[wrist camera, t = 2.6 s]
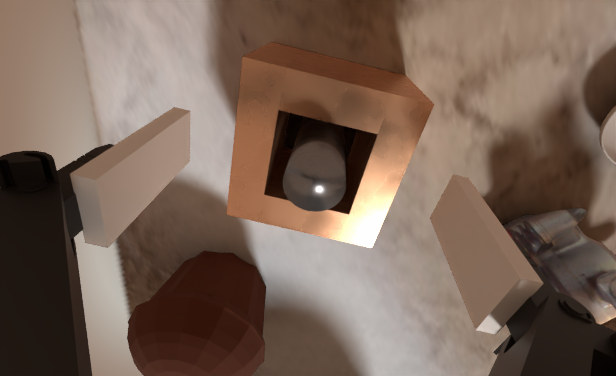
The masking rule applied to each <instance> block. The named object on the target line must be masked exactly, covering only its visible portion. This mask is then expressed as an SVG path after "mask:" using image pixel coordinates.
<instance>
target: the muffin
mask: <svg viewBox="0 0 616 376" xmlns="http://www.w3.org/2000/svg"><path fill="white" fill-rule="evenodd" d="M265 294H266V286H265V284H264V283H263V281H262V280H261V278H260V276H259V273H258V271H257V268H256V267H255V266H253V265H251V264H249V263H247V262H245V261H243V260H242V259H240V258H239V257H237V256H236V255H234V254H233V253H216V252H209V251H203V252H202V253H200V254H199V255H198V256H196V257H194V258H192V259H189V260H187V261H185V262H184V263H183V264H182V265H181V266H180V267H179V269H178V270H177V271H176V272H175V273H174V274H173V275H172V276H171V277H170V278H169V280H168V281H167V282H166V283H165V284H164V285H163V286H162V287H161V288H160V289H159V291H158V292H157V293H156V294H155V295H154V296H153V297H152V298H151V299H150V301H147V302H145V303H143V304H140V305H138V306H136V308H135V310H134V312H133V314H132V315H131V317H130V319H129V321H128V324H129V327H128V336H127V339H128V343H129V349H130V352H131V355H132V357H133V360H134V363H135V365H136V366H137V368H138V370H139V371H140V372H141V373H142V374H143V375H144V376H251V375H252V374H253V373H254V372H255V371H256V369H257V368H258V367H259V365H261V364H262V363H263V362H264V352H265V343H264V340H263V322H264V308H265Z"/></svg>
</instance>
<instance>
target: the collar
mask: <svg viewBox="0 0 616 376" xmlns="http://www.w3.org/2000/svg"><path fill="white" fill-rule="evenodd" d="M433 106H434V104H433V103H432V102H431V101H430V99H429V98H428V97H427V96H426V95H425V94H424V93H423V92H422V91H421V90H420V89H419V88H418V87H417V86H416V85H415V84H414V83H413V82H412V81H411V80H410V79H409V78H408V77H407V76H405V75H401V74H398V73H394V72H390V71H386V70H382V69H378V68H374V67H370V66H366V65H362V64H358V63H354V62H350V61H346V60H342V59H338V58H334V57H330V56H326V55H322V54H318V53H314V52H310V51H306V50H302V49H298V48H294V47H290V46H286V45H282V44H278V43H274V42H271V43H269V44H267V45H265V46H263V47H261V48H259V49H257V50H255V51H253V52H251V53H249V54H247V55H245V56H243V57H242V66H241V76H240V86H239V96H238V106H237V115H236V125H235V135H234V145H233V155H232V165H231V175H230V185H229V195H228V205H227V215H230V216H235V217H239V218H243V219H248V220H252V221H256V222H261V223H265V224H269V225H274V226H278V227H282V228H287V229H291V230H295V231H300V232H304V233H308V234H313V235H317V236H321V237H326V238H330V239H334V240H339V241H343V242H347V243H352V244H356V245H360V246H365V247H369V248H372V246H373V244H374V242H375V239H376V237H377V235H378V232H379V230H380V228H381V226H382V223H383V221H384V219H385V216H386V214H387V212H388V210H389V207H390V205H391V203H392V200H393V198H394V196H395V193H396V191H397V189H398V187H399V184H400V182H401V180H402V177H403V175H404V173H405V170H406V168H407V166H408V164H409V161H410V159H411V157H412V154H413V152H414V150H415V147H416V145H417V143H418V141H419V138H420V136H421V134H422V131H423V129H424V127H425V125H426V122H427V120H428V118H429V115H430V113H431V111H432V108H433ZM290 113H293V114H297V115H301V116H305V117H309V118H313V119H317V120H322V121H326V122H330V123H334V124H338V125H342V126H346V127H350V128H354V129H357V132H356V135H355V138H354V141H353V144H352V147H351V150H350V154H349V157H348V160H347V162H345V172H346V190H345V193H344V196H343V198H342V199H341V200H340V202H339V203H338V204H337V205H335V206H334V207H332V208H330V209H328V210H325V211H319V212H312V211H306V210H303V209H301V208H299V207H297V206H295V205H294V204H293V203H292V202H291V201H290V200H289V199H288V198H287V196H286V194H285V192H284V189H283V177H284V174H285V171H286V168H287V165H288V162H289V159H290V156H291V153H292V150H293V149H290V148H286V147H283V146H284V141H285V136H286V131H287V125H288V120H289V115H290Z"/></svg>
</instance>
